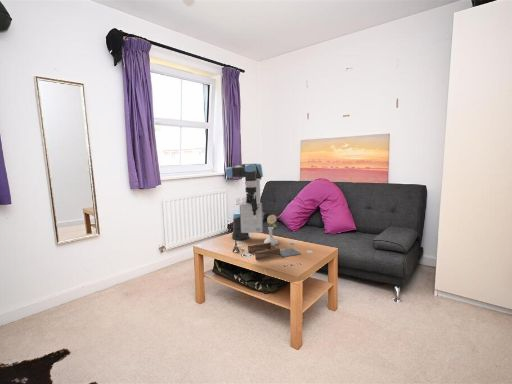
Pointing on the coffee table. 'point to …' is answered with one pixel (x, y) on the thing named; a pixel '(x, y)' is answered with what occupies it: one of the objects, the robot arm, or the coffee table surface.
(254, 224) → the hard drive box
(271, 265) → the coffee table surface
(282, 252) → the felt pad
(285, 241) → the coffee table surface
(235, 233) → the robot arm
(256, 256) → the walnut shelf bay
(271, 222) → the flower in vase
